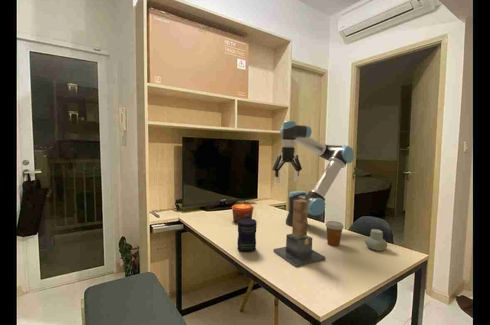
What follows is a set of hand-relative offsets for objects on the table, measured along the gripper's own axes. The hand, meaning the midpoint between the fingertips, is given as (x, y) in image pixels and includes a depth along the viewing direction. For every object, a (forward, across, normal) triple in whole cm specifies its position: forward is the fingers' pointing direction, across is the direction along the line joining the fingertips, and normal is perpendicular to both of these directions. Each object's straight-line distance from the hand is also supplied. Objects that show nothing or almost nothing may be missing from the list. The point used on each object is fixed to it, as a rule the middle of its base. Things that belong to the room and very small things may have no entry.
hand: (287, 181), depth 157 cm
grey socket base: (+33, -12, -28) cm, 45 cm away
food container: (+33, -12, +35) cm, 50 cm away
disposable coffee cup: (+33, +16, -24) cm, 44 cm away
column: (+25, -12, -28) cm, 39 cm away
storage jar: (+33, -32, -10) cm, 47 cm away
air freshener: (+33, +33, -38) cm, 60 cm away
